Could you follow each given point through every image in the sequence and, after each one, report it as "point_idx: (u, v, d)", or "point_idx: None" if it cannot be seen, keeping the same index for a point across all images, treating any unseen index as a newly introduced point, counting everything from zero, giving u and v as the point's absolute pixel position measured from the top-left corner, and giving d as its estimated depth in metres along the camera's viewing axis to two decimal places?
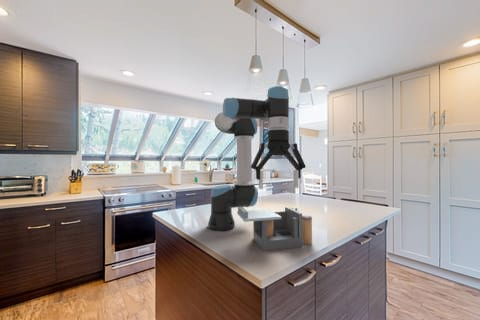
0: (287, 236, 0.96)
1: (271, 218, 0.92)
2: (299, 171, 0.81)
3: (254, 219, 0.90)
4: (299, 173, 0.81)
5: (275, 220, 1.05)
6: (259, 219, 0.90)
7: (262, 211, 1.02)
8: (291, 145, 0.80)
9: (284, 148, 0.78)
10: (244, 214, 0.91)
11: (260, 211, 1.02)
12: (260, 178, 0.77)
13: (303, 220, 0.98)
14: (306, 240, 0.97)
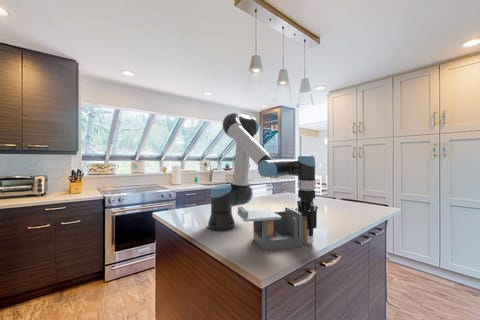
0: (287, 236, 0.96)
1: (271, 218, 0.92)
2: (309, 230, 0.95)
3: (254, 219, 0.90)
4: (309, 231, 0.95)
5: (275, 220, 1.05)
6: (259, 219, 0.90)
7: (262, 211, 1.02)
8: (311, 205, 0.94)
9: (304, 205, 0.97)
10: (244, 214, 0.91)
11: (260, 211, 1.02)
12: None
13: (303, 220, 0.98)
14: (306, 240, 0.97)
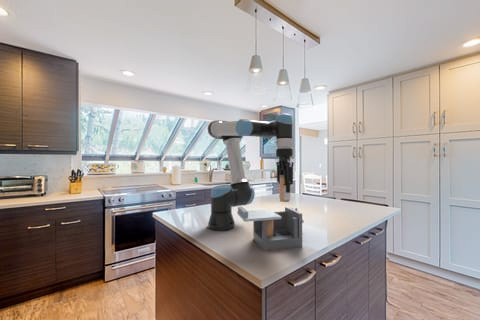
0: (287, 236, 0.96)
1: (271, 218, 0.92)
2: (286, 186, 0.97)
3: (254, 219, 0.90)
4: (286, 188, 0.97)
5: (275, 220, 1.05)
6: (259, 219, 0.90)
7: (262, 211, 1.02)
8: (288, 162, 0.96)
9: (282, 163, 0.99)
10: (244, 214, 0.91)
11: (260, 211, 1.02)
12: None
13: (280, 178, 1.00)
14: (283, 197, 0.99)
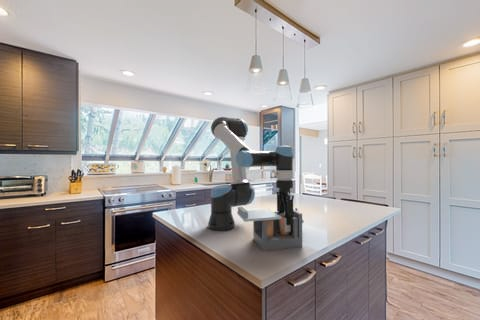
0: (287, 236, 0.96)
1: (271, 218, 0.92)
2: (287, 219, 0.97)
3: (254, 219, 0.90)
4: (287, 220, 0.97)
5: (275, 220, 1.05)
6: (259, 219, 0.90)
7: (262, 211, 1.02)
8: (288, 195, 0.96)
9: (282, 194, 0.99)
10: (244, 214, 0.91)
11: (260, 211, 1.02)
12: None
13: (281, 217, 1.00)
14: None
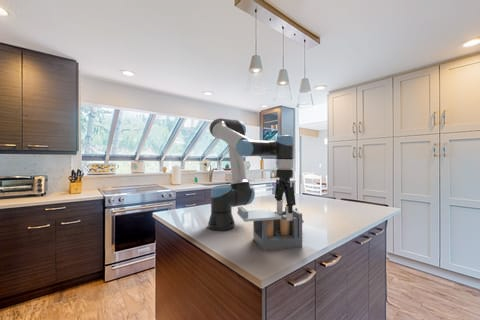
0: (287, 236, 0.96)
1: (271, 218, 0.92)
2: (289, 207, 0.94)
3: (254, 219, 0.90)
4: (289, 208, 0.94)
5: (275, 220, 1.05)
6: (259, 219, 0.90)
7: (262, 211, 1.02)
8: (288, 183, 0.95)
9: (282, 184, 0.98)
10: (244, 214, 0.91)
11: (260, 211, 1.02)
12: None
13: (281, 219, 0.99)
14: None
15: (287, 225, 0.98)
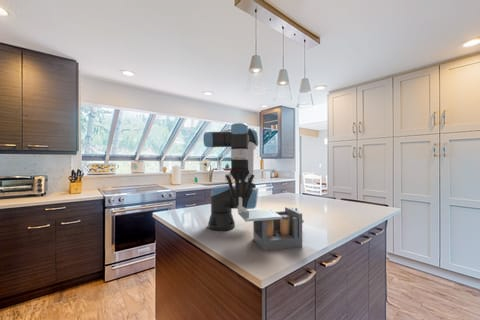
0: (287, 236, 0.96)
1: (272, 218, 0.92)
2: (243, 199, 0.95)
3: (255, 219, 0.90)
4: (243, 200, 0.95)
5: (275, 220, 1.05)
6: (260, 219, 0.91)
7: (263, 211, 1.02)
8: (250, 174, 0.96)
9: (244, 174, 0.94)
10: (245, 214, 0.91)
11: (261, 211, 1.02)
12: (238, 204, 0.94)
13: (281, 219, 0.99)
14: None
15: (287, 225, 0.98)
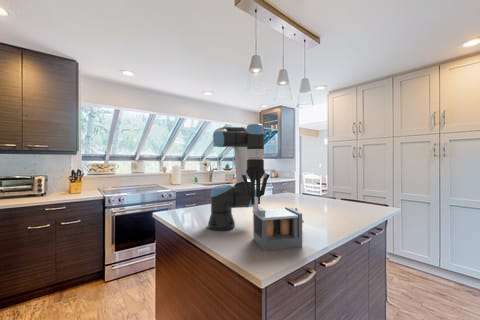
0: (287, 236, 0.96)
1: (288, 217, 0.94)
2: (259, 198, 0.97)
3: (271, 218, 0.92)
4: (259, 199, 0.97)
5: (275, 220, 1.05)
6: (276, 218, 0.92)
7: (277, 210, 1.04)
8: (265, 174, 0.98)
9: (260, 174, 0.96)
10: (261, 213, 0.93)
11: (275, 210, 1.04)
12: (254, 203, 0.96)
13: (281, 219, 0.99)
14: None
15: (287, 225, 0.98)
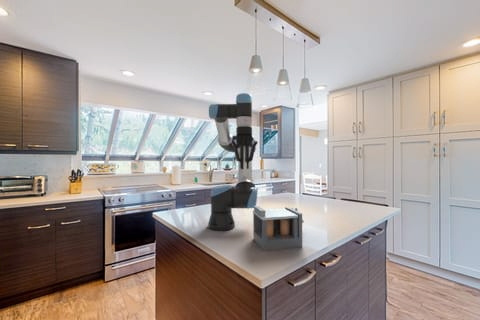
0: (287, 236, 0.96)
1: (288, 217, 0.94)
2: (247, 163, 1.04)
3: (271, 218, 0.92)
4: (247, 164, 1.04)
5: (275, 220, 1.05)
6: (276, 218, 0.92)
7: (277, 210, 1.04)
8: (253, 141, 1.05)
9: (248, 140, 1.03)
10: (261, 213, 0.93)
11: (275, 210, 1.04)
12: (243, 168, 1.03)
13: (281, 219, 0.99)
14: None
15: (287, 225, 0.98)
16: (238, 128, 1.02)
